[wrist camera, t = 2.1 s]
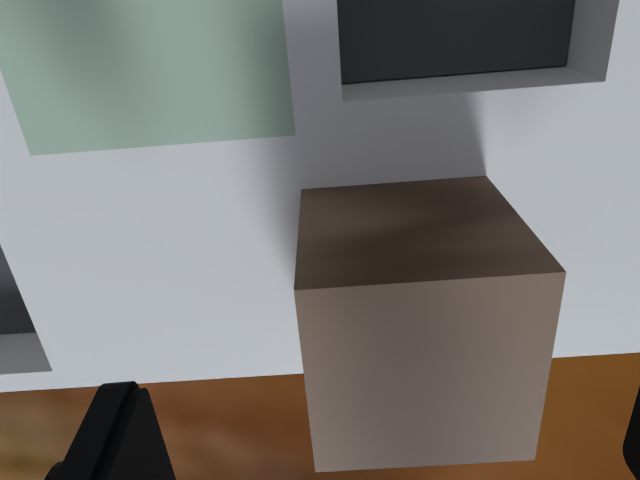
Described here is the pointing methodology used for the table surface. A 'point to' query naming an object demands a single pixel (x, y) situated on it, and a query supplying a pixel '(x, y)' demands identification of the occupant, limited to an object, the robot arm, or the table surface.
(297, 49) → the deck
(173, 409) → the table surface
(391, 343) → the walnut block
